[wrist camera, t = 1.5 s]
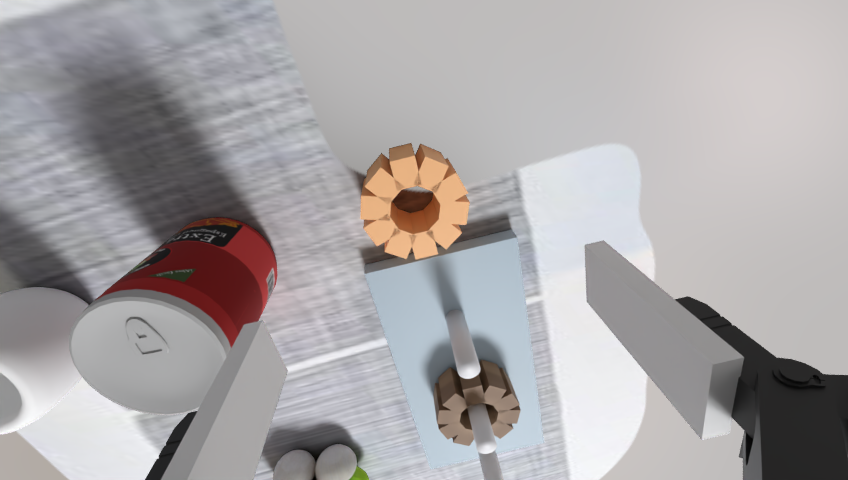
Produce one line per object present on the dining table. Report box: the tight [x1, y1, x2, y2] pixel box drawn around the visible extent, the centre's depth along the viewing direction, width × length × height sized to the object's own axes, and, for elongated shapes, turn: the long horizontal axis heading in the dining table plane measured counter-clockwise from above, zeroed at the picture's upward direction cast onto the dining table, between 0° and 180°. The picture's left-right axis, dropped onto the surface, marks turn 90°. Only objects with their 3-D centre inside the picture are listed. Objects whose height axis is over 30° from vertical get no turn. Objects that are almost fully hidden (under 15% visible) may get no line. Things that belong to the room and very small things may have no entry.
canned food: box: [69, 217, 277, 415], centre depth 25 cm, size 8×8×11 cm
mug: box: [0, 287, 89, 434], centre depth 27 cm, size 12×8×8 cm
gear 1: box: [361, 143, 470, 259], centre depth 27 cm, size 7×7×4 cm
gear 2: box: [433, 360, 521, 446], centre depth 34 cm, size 7×7×3 cm
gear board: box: [365, 229, 544, 480], centre depth 33 cm, size 24×12×8 cm, turn 13°
